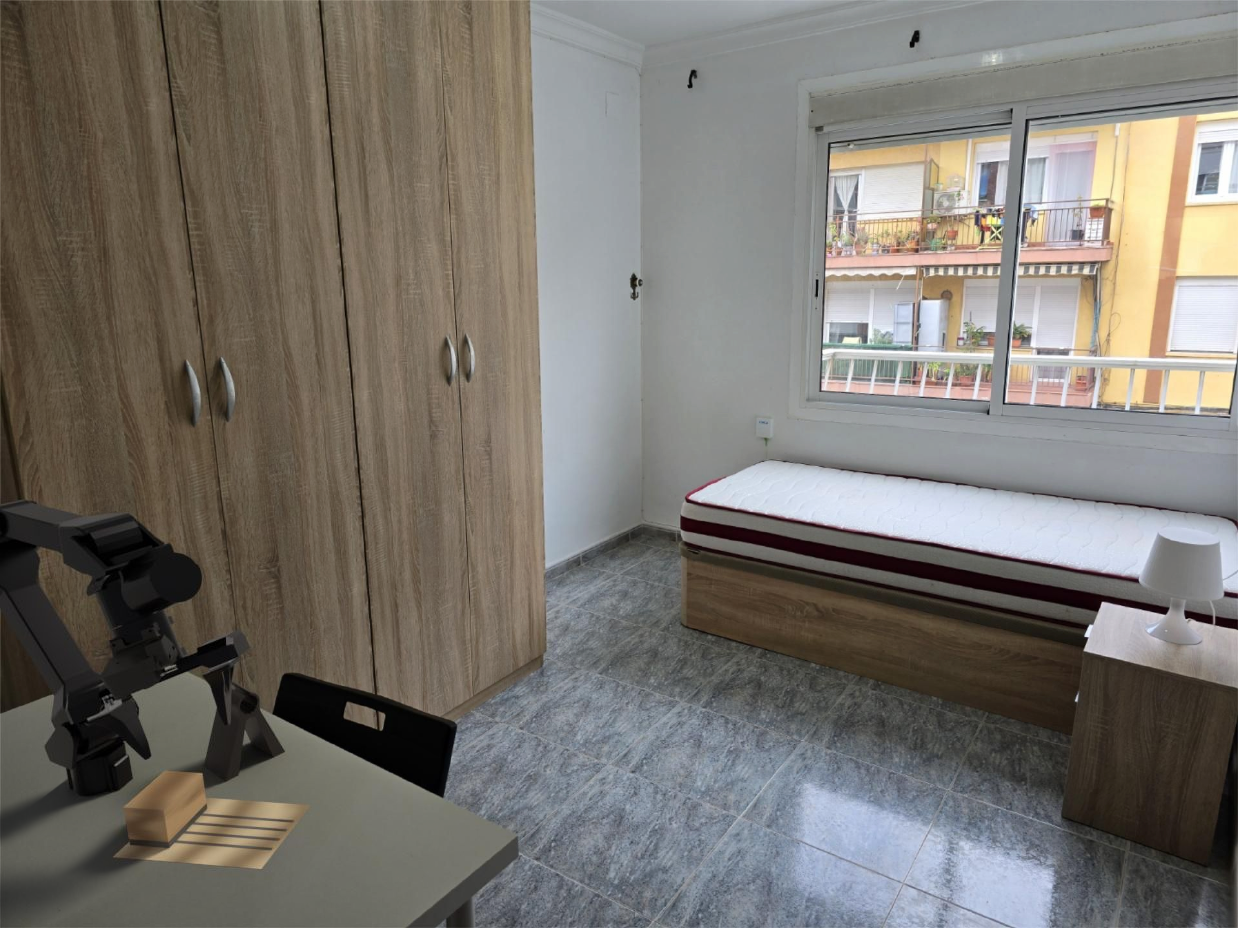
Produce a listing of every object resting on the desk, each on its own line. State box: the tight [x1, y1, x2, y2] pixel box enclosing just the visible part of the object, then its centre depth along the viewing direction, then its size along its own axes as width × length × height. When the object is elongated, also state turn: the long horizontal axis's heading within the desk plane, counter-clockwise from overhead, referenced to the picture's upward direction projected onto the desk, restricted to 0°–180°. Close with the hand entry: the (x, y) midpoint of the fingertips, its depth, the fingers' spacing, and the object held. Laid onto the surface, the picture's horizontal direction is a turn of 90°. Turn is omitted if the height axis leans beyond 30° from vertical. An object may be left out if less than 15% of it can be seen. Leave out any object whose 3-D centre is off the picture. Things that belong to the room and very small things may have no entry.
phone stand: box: [203, 680, 286, 782], centre depth 106 cm, size 9×6×12 cm, turn 143°
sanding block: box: [123, 770, 207, 848], centre depth 93 cm, size 5×7×5 cm
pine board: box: [113, 797, 311, 870], centre depth 93 cm, size 18×11×1 cm, turn 83°
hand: (188, 741), depth 91 cm, fingers open, 9 cm apart
